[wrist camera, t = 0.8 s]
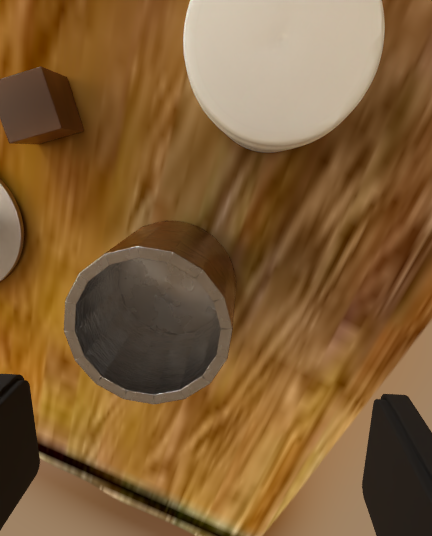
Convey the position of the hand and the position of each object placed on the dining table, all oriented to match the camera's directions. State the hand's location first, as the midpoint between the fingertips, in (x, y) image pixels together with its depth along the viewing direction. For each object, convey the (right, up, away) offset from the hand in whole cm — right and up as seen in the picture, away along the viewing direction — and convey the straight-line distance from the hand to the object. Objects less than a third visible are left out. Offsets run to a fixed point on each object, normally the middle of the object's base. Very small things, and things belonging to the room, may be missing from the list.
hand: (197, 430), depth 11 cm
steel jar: (-4, +3, +27) cm, 27 cm away
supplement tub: (+5, +19, +22) cm, 29 cm away
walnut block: (-13, +18, +23) cm, 32 cm away
